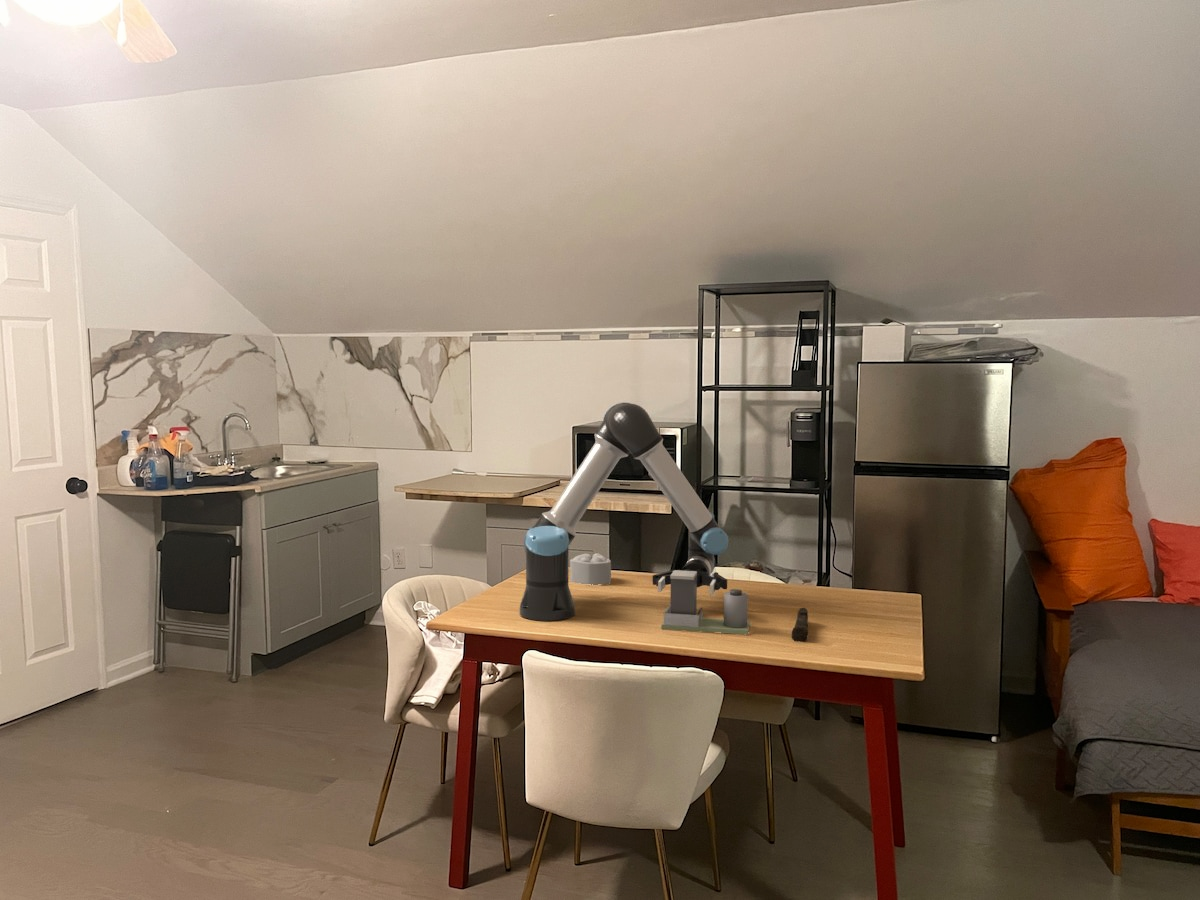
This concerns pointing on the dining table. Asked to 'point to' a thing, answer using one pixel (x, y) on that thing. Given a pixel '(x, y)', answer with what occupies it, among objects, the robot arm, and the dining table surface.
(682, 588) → the grey block
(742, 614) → the desk organizer stand
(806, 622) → the hand tool
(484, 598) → the dining table surface
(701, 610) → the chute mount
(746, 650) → the dining table surface
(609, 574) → the lumpy-topped squat cylinder
